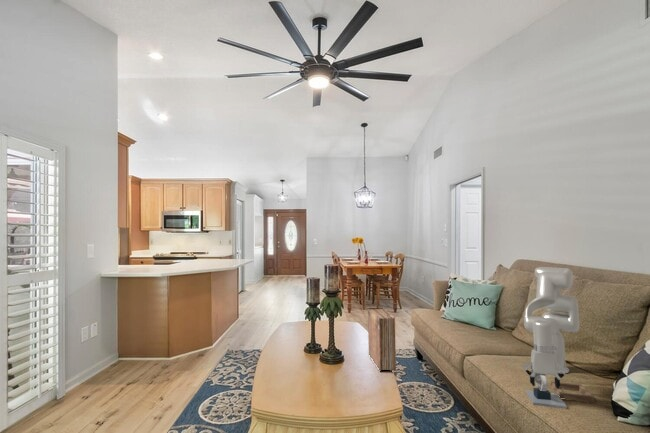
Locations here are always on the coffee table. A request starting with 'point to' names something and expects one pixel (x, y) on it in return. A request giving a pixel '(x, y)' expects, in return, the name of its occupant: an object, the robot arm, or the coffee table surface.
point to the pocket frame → (585, 397)
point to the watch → (541, 387)
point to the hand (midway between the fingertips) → (544, 386)
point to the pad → (554, 401)
